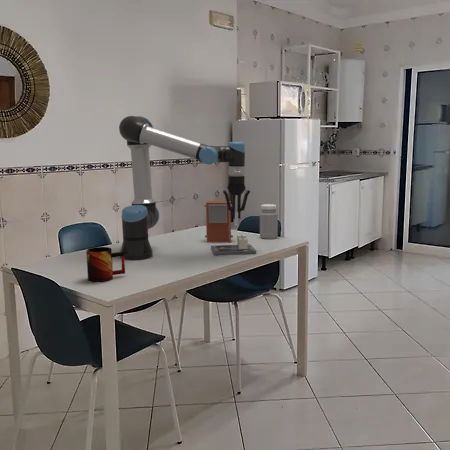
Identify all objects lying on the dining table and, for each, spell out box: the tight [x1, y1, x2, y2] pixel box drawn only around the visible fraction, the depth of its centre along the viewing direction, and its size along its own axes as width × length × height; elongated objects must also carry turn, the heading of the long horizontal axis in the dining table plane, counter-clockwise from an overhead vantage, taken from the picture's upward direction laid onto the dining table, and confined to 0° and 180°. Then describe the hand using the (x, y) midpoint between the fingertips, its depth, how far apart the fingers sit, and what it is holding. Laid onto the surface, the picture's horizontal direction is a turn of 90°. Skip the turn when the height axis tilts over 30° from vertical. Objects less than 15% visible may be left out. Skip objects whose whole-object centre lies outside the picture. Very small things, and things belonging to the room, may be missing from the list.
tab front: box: [238, 237, 249, 250], centre depth 248 cm, size 4×4×5 cm
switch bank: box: [210, 243, 257, 257], centre depth 252 cm, size 20×16×2 cm
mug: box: [85, 246, 126, 283], centre depth 206 cm, size 10×14×12 cm
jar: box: [259, 203, 279, 240], centre depth 283 cm, size 10×10×18 cm
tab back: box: [236, 234, 247, 245], centre depth 256 cm, size 4×4×5 cm
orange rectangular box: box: [204, 200, 234, 243], centre depth 274 cm, size 21×7×15 cm
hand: (236, 225), depth 246 cm, fingers closed
